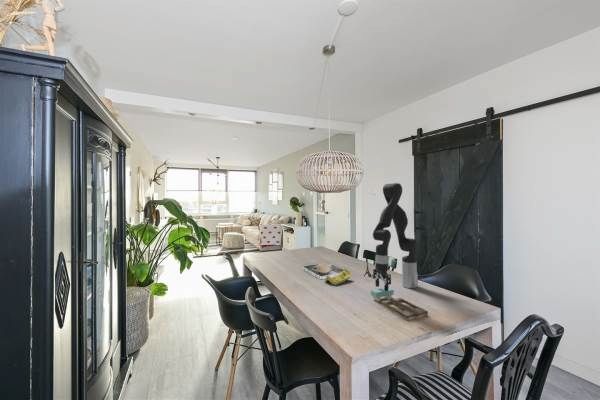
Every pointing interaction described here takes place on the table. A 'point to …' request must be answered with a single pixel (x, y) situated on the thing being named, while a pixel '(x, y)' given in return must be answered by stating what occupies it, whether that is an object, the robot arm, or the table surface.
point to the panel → (382, 293)
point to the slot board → (404, 308)
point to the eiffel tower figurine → (368, 271)
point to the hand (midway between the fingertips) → (381, 288)
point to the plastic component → (339, 277)
